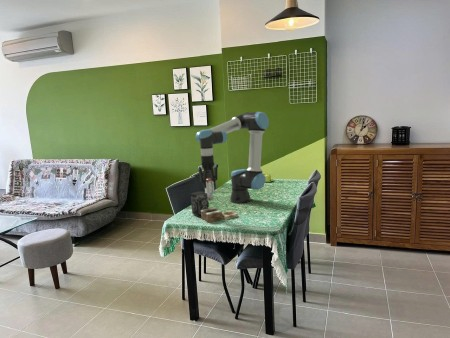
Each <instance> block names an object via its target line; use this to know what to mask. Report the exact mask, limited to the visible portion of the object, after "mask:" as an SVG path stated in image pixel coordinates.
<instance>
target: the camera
mask: <svg viewBox="0 0 450 338" xmlns="http://www.w3.org/2000/svg"><path fill="white" fill-rule="evenodd" d="M190 196H191V197H190V203H191V204H190V205H191V213H192V215H193V216H196V217H201V210H204V209H209V208H210V206H209V204H210V202H209V200H207V193H205V191H195V192H192V193H190Z"/></svg>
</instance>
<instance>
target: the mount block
mask: <svg viewBox="0 0 450 338" xmlns="http://www.w3.org/2000/svg"><path fill="white" fill-rule="evenodd" d="M238 217H239V213H237V212H236V211H234V210H232V209H231V210H227V211H222V219H224V220H230V219H234V218H235V219H236V218H238Z"/></svg>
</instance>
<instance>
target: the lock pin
mask: <svg viewBox="0 0 450 338" xmlns="http://www.w3.org/2000/svg"><path fill="white" fill-rule="evenodd" d="M206 183H207V184H208V193H207V200H208V201H213V200H214V196H213V195H214V194H213V193H214V192H212V179H211V177H209V178H207V179H206Z"/></svg>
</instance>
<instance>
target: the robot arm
mask: <svg viewBox="0 0 450 338" xmlns="http://www.w3.org/2000/svg"><path fill="white" fill-rule="evenodd" d="M269 125H270V120H269V117H268V115H267V114H266V113H265V112H264V111H250V112H243V113H241V114H238V115H237V116H234V117H232V118H231V119H230V120H228V121H225V122H222V123H221V124H218V125H216V126H213V127H211V128H208V129H200V131H197V132H196V134H195V140H196V143H197V142H198V143H199V145H200V155H201V156H200V159H201V163H200V165H199V166H196V167H197V170H198V175H199V182H200V183H202V185H203V189H204V192H205V193H208V184H207V183H206V179H208V178H207V176H208V171H209V175H210V178H211V179H212V193H215V187H216V183H215V182H216V181H218V167H219V164H217V163H215V162H214V160H215V159H214V145H218V144H223V143H226V142H227V140H228V134H229V133H232V132H234V131H240V130H243V129H244V130H247V132H248V133H249V145H248V146H249V149H248V151H249V152H248V164H247V165H248V167H247V168H241V169H235V170H232V171H231V175H230V179H231V180H230V181H231V194H230V203H233V204H245V203H249V202H250V201H251V195H250V193H249V192H250V191H249V189H250V190H261V189H263V187H264V186H265V183H266V176H265V174H264V173H263V169H262V167H261V165H262V163H261V162H262V149H263V135H264V133H265V132H266V129H268V127H269ZM202 169H203V170H202Z"/></svg>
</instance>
